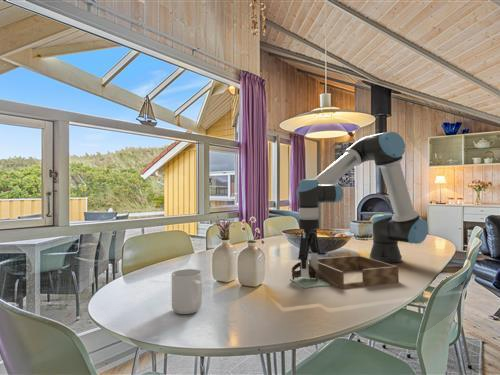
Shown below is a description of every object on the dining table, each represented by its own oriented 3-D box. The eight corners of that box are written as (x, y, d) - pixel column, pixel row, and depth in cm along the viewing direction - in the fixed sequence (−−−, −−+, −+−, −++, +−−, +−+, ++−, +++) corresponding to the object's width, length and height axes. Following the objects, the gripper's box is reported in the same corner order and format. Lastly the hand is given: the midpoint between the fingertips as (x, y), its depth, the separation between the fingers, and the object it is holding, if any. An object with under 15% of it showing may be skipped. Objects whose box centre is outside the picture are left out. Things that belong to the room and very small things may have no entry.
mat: (314, 277, 130) (314, 276, 130) (330, 285, 119) (330, 284, 119) (290, 279, 126) (290, 278, 127) (304, 288, 115) (304, 287, 115)
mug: (166, 309, 95) (166, 272, 95) (191, 302, 101) (191, 267, 101) (186, 320, 86) (186, 280, 86) (213, 312, 92) (213, 274, 92)
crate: (359, 268, 145) (358, 255, 145) (398, 281, 122) (398, 266, 122) (309, 273, 137) (309, 259, 137) (341, 288, 114) (341, 272, 114)
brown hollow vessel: (321, 284, 119) (311, 266, 118) (298, 294, 120) (289, 276, 119) (316, 269, 131) (307, 253, 129) (296, 279, 132) (287, 262, 131)
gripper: (308, 216, 136) (309, 265, 136) (289, 221, 114) (290, 279, 113) (325, 216, 132) (326, 266, 132) (309, 221, 110) (310, 282, 110)
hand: (309, 272), depth 123 cm, fingers open, 13 cm apart
